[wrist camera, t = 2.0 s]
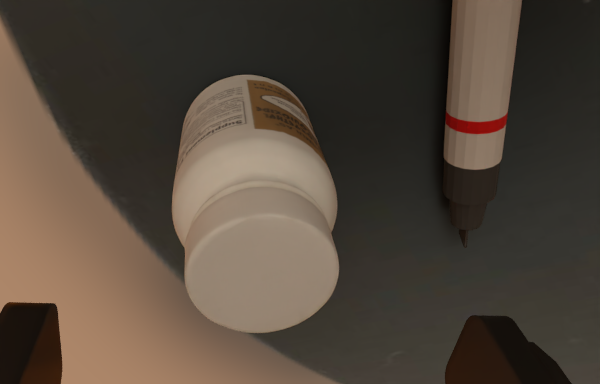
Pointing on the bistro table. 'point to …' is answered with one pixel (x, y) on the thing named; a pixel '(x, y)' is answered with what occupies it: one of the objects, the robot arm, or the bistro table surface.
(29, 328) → the robot arm
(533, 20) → the bistro table surface
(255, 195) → the pill bottle
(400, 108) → the bistro table surface
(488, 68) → the marker
